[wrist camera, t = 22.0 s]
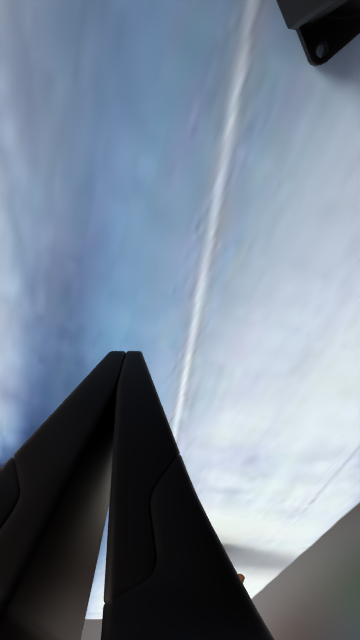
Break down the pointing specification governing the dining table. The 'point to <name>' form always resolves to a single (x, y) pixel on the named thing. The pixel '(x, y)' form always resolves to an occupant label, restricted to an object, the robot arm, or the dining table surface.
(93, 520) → the robot arm
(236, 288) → the dining table surface
